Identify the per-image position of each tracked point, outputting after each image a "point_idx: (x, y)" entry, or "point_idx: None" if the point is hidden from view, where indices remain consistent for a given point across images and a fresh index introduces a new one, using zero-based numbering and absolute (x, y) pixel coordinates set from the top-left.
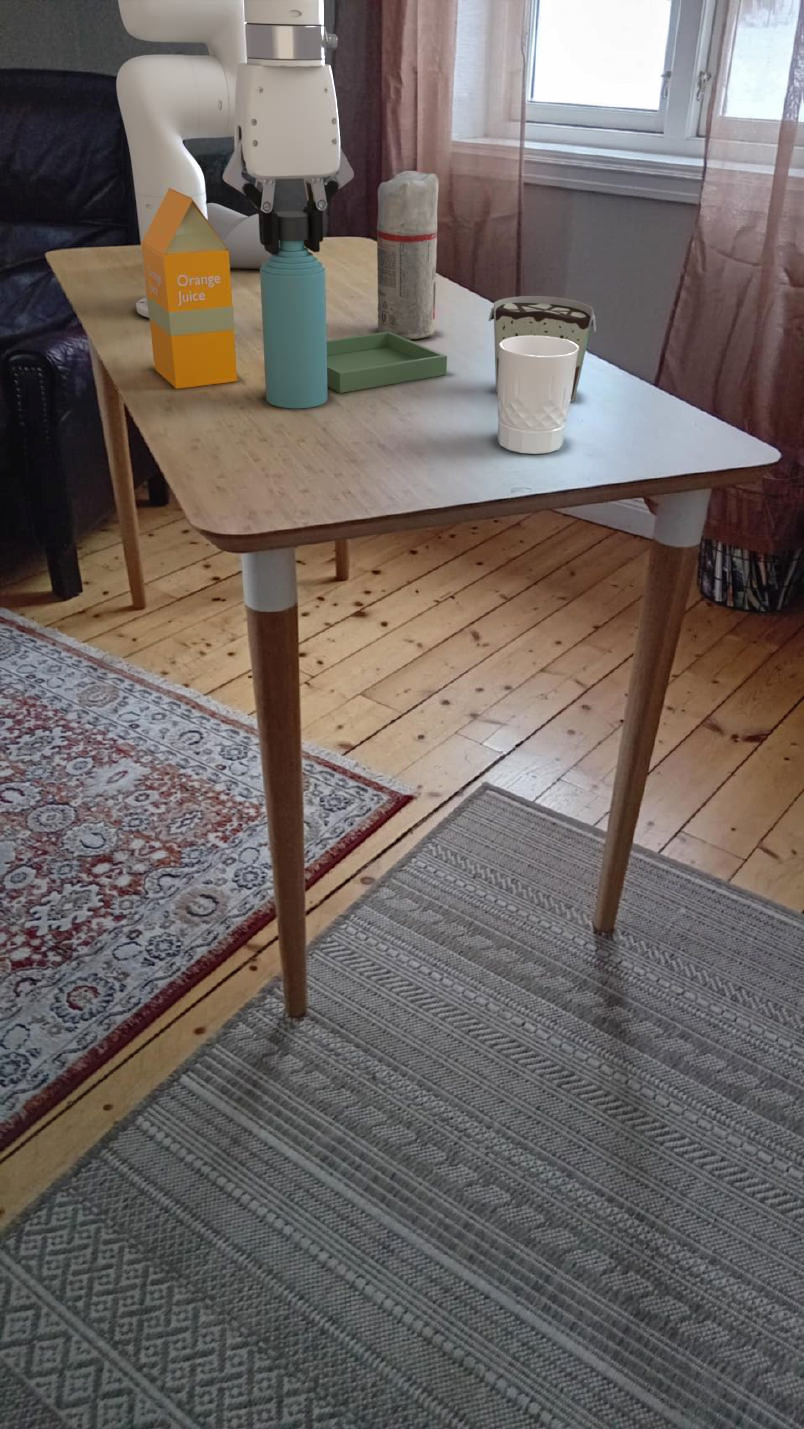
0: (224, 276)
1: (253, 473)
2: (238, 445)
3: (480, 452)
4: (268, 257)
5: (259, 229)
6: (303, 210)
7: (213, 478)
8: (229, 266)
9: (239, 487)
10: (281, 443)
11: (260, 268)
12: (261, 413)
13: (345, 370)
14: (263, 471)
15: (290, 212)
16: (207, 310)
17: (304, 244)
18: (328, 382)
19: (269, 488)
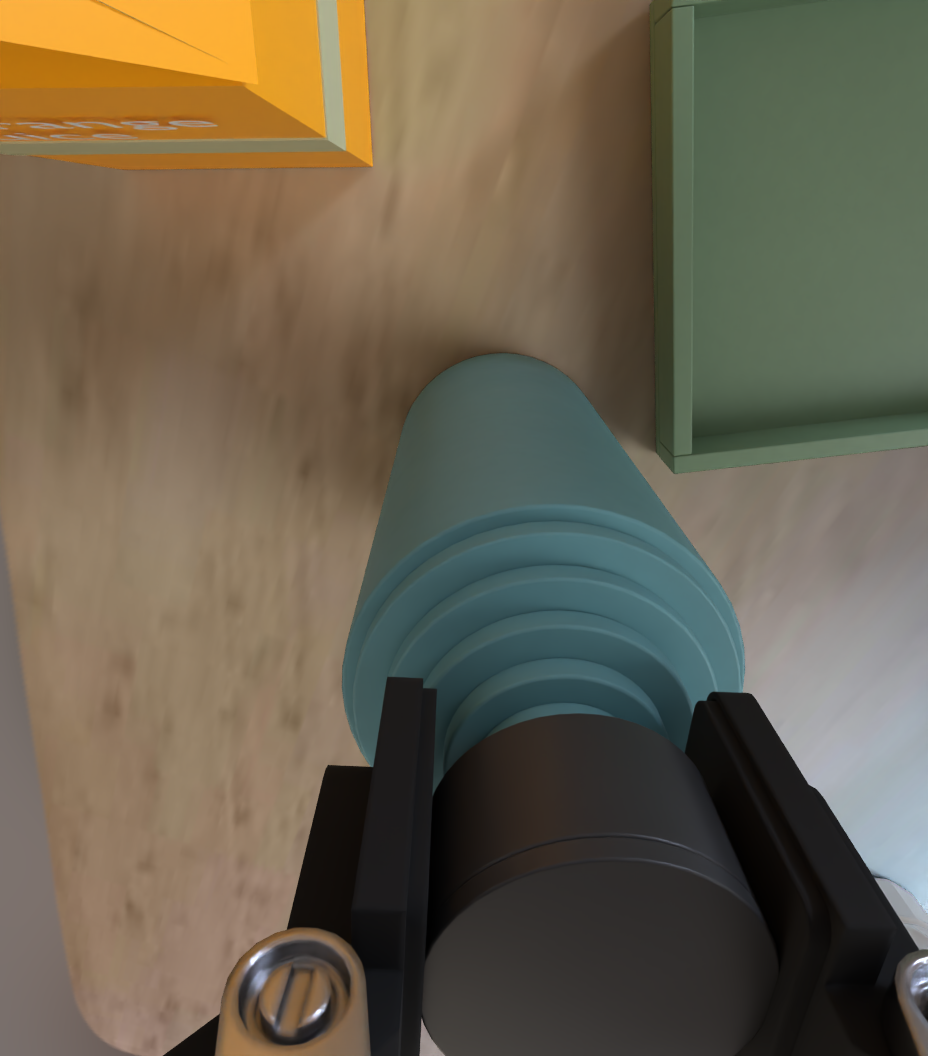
0: (244, 115)
1: (215, 871)
2: (222, 728)
3: None
4: (418, 644)
5: (313, 827)
6: (806, 914)
7: (127, 867)
8: (273, 105)
9: (171, 917)
10: (327, 751)
11: (360, 617)
12: (349, 535)
13: (798, 255)
14: (239, 870)
15: (635, 939)
16: (174, 142)
17: (700, 712)
18: (659, 378)
19: (228, 937)
